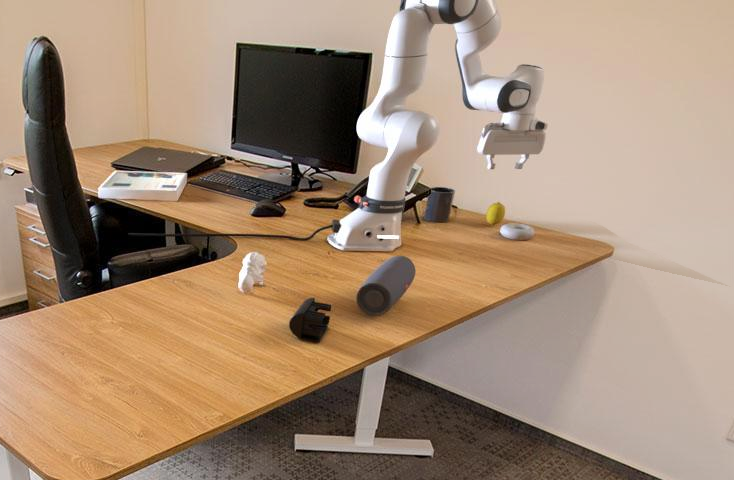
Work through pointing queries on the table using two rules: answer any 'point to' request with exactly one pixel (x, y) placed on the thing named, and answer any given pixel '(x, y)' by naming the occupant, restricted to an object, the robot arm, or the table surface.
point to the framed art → (143, 185)
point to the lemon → (495, 213)
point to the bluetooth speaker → (386, 285)
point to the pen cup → (439, 204)
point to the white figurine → (252, 271)
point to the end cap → (310, 321)
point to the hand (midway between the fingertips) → (504, 169)
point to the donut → (517, 231)
